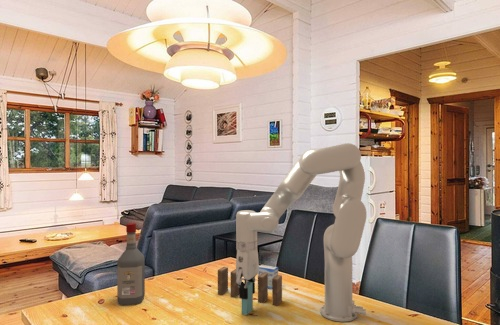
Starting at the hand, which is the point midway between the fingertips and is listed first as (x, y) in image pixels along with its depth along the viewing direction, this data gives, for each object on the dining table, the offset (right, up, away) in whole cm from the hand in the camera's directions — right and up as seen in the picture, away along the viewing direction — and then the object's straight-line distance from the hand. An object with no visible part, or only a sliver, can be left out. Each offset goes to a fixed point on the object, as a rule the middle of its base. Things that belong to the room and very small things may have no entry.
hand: (247, 295), depth 123 cm
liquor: (-45, -6, +10) cm, 47 cm away
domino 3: (0, -6, 0) cm, 6 cm away
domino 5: (+11, -6, +8) cm, 15 cm away
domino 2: (-5, -6, +16) cm, 17 cm away
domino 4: (+6, -6, +10) cm, 13 cm away
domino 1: (-10, -6, +18) cm, 22 cm away
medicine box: (+9, -6, +25) cm, 27 cm away
